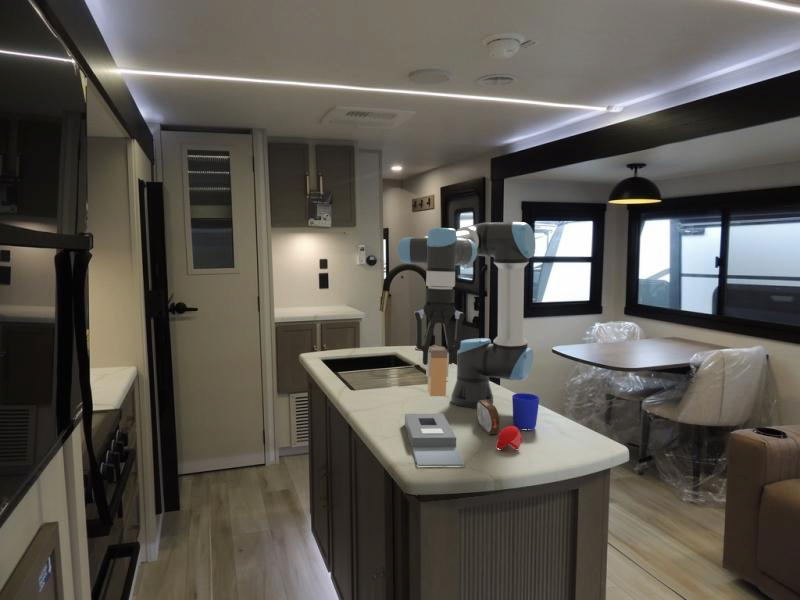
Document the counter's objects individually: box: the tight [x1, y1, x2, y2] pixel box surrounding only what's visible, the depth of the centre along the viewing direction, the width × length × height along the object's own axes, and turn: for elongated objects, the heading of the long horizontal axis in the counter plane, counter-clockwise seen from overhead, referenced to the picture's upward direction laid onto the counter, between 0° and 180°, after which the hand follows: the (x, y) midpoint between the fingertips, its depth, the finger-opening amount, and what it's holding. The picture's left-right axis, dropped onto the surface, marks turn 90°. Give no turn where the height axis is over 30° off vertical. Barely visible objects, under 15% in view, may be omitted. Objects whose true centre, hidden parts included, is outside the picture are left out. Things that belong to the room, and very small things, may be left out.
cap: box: [496, 425, 523, 451], centre depth 151 cm, size 8×6×6 cm
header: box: [404, 413, 457, 451], centre depth 159 cm, size 12×22×4 cm, turn 5°
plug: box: [427, 346, 448, 397], centre depth 143 cm, size 4×6×12 cm, turn 4°
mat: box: [412, 446, 466, 467], centre depth 142 cm, size 12×12×1 cm
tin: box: [476, 399, 501, 435], centre depth 166 cm, size 15×3×8 cm, turn 9°
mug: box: [511, 392, 540, 431], centre depth 170 cm, size 8×12×10 cm
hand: (437, 375), depth 143 cm, fingers closed on plug, 4 cm apart
